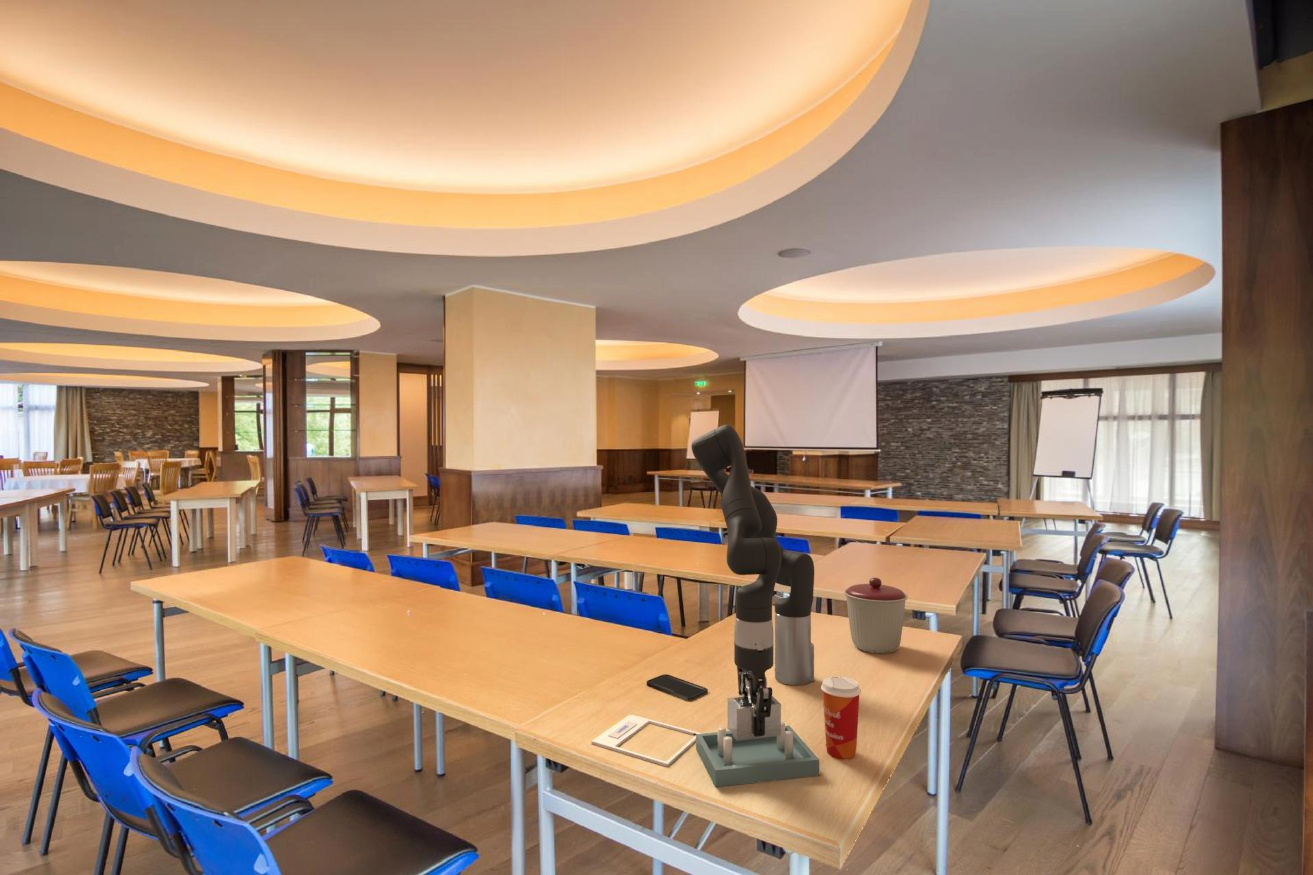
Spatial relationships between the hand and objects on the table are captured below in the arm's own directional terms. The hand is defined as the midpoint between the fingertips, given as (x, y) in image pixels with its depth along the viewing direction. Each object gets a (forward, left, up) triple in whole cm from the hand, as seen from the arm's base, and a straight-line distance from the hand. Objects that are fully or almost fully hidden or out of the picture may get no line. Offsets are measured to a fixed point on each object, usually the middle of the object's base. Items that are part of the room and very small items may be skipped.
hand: (753, 728), depth 121 cm
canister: (-58, -56, -7) cm, 81 cm away
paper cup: (-18, 0, -7) cm, 19 cm away
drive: (0, 0, -1) cm, 1 cm away
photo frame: (+19, -13, -7) cm, 24 cm away
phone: (+7, -38, -7) cm, 39 cm away
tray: (0, 0, -6) cm, 6 cm away
